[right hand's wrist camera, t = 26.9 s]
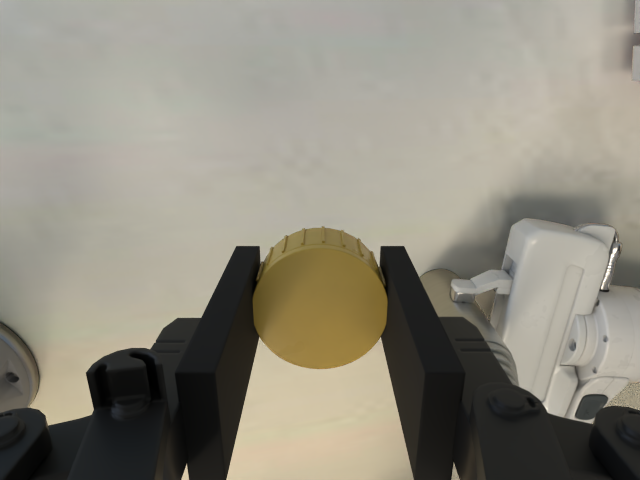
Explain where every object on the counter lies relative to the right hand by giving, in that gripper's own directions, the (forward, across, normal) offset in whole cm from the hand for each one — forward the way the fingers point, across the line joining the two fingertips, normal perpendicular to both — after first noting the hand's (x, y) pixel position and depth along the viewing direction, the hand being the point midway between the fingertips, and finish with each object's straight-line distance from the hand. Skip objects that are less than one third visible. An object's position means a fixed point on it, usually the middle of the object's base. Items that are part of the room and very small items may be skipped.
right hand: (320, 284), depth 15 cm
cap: (-2, 0, 0) cm, 2 cm away
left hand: (+22, +12, -15) cm, 29 cm away
